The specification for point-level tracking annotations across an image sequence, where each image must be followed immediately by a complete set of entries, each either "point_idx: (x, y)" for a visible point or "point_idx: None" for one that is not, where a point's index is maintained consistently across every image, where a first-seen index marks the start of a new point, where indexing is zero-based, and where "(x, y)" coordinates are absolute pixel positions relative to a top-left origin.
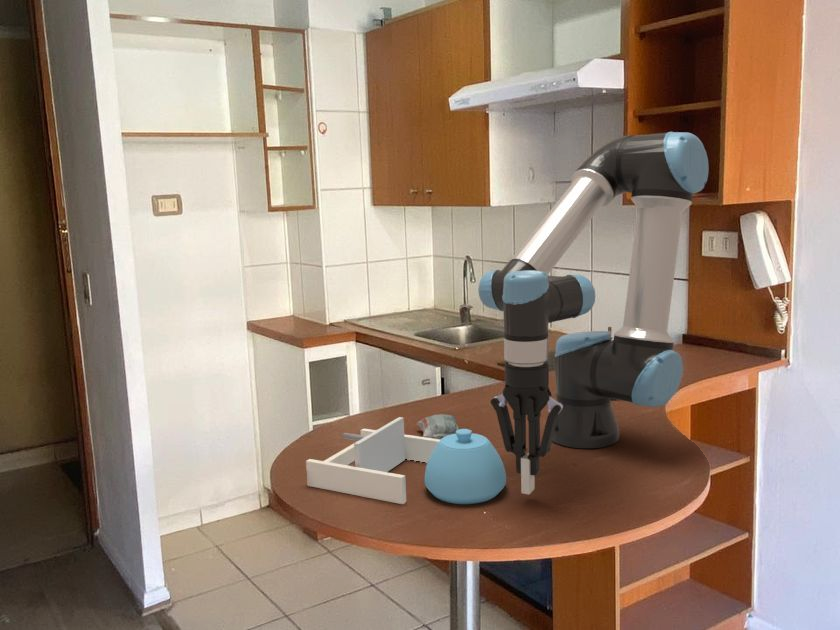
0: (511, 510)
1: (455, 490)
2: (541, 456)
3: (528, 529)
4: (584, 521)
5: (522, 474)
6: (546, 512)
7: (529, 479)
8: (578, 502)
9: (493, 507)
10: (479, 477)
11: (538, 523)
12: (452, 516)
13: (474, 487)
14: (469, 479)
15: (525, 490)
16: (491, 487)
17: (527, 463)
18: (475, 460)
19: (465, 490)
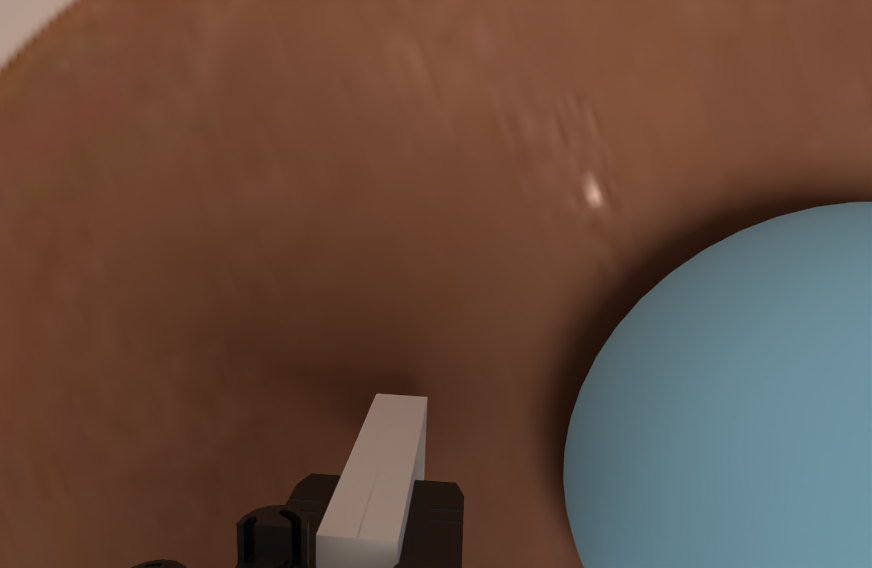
0: (455, 270)
1: (853, 212)
2: (174, 563)
3: (287, 71)
4: (62, 274)
5: (403, 456)
6: (272, 310)
7: (357, 442)
8: (166, 474)
9: (564, 272)
10: (720, 327)
11: (264, 165)
12: (768, 66)
13: (723, 271)
14: (793, 277)
15: (397, 404)
16: (614, 355)
17: (341, 510)
18: (841, 424)
19: (778, 233)
